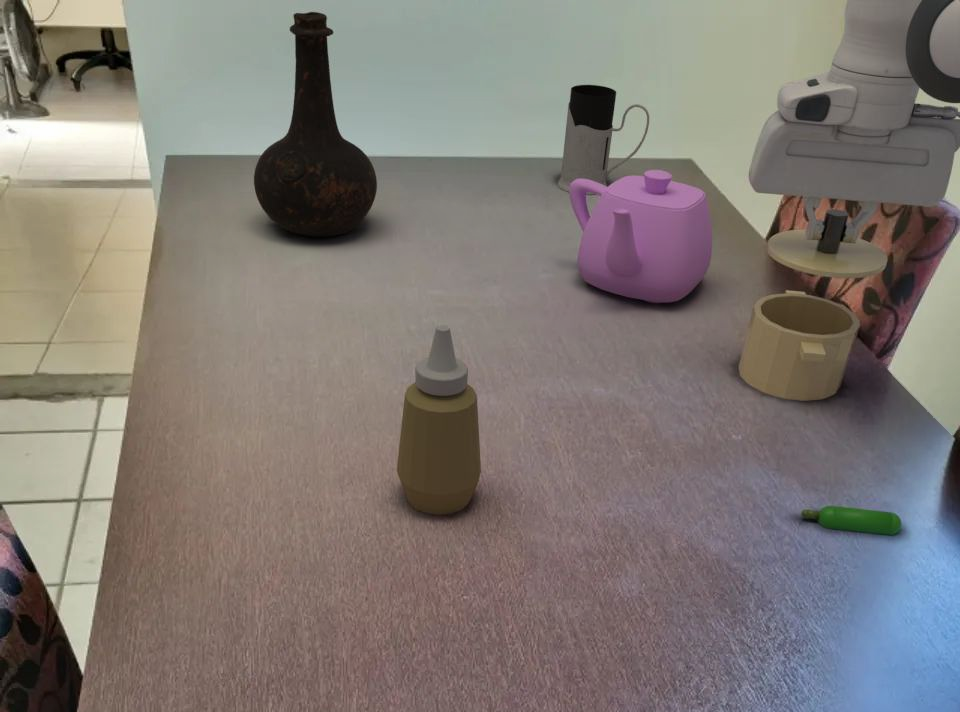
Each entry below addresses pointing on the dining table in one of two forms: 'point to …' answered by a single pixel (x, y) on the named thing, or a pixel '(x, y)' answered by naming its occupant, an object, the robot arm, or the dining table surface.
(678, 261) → the teapot
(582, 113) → the glass holder
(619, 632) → the dining table surface
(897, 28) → the robot arm
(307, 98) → the glass bottle
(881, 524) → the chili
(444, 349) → the squeeze bottle
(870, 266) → the lid
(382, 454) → the dining table surface
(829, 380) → the pot
